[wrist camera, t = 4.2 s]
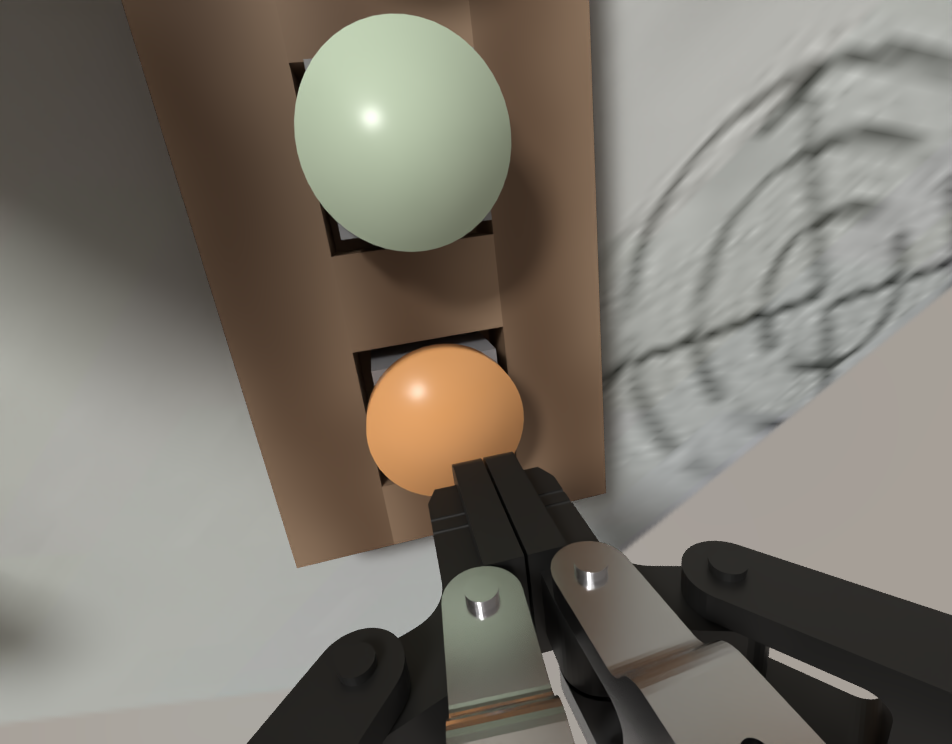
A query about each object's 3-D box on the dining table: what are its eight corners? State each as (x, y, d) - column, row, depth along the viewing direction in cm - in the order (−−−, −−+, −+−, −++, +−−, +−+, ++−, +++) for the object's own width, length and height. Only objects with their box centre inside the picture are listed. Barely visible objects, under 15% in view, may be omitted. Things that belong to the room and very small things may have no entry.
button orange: (487, 313, 18) (516, 336, 14) (500, 431, 20) (529, 477, 16) (354, 336, 17) (350, 366, 14) (380, 456, 19) (382, 511, 15)
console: (527, -364, 13) (571, -524, 10) (575, 457, 22) (605, 493, 19) (42, -401, 11) (-69, -613, 8) (307, 518, 20) (297, 567, 17)
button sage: (466, 60, 14) (500, 7, 10) (485, 233, 16) (520, 237, 12) (294, 73, 13) (267, 20, 10) (333, 254, 15) (322, 265, 11)
